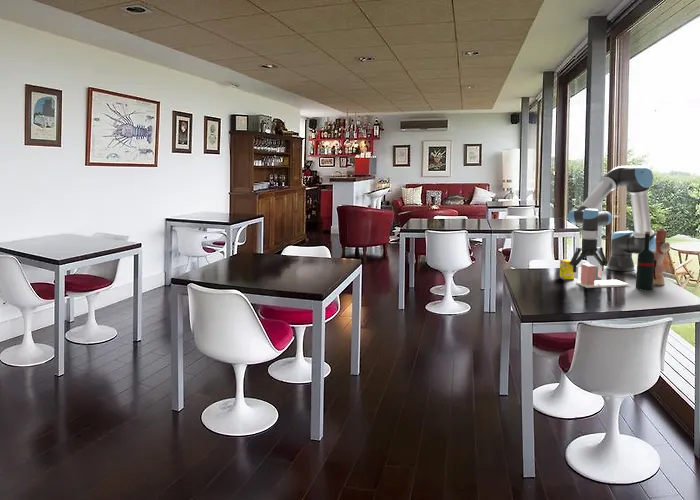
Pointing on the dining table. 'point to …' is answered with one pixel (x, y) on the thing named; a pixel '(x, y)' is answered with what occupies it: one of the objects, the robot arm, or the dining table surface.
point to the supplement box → (566, 270)
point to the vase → (660, 256)
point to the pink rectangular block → (587, 276)
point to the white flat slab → (610, 283)
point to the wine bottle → (645, 267)
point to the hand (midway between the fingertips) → (587, 277)
